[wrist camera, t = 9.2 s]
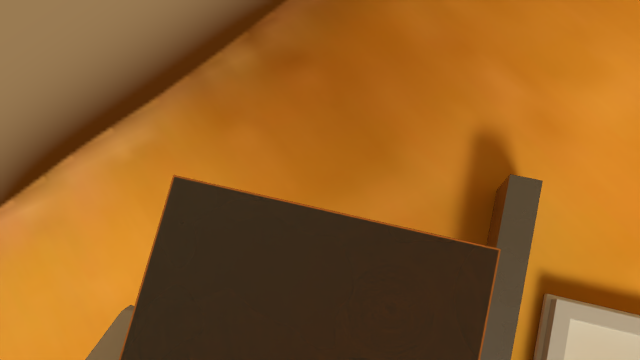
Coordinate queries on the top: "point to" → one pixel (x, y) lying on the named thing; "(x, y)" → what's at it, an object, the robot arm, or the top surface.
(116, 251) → the top surface
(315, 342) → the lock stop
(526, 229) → the door edge rail
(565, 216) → the top surface
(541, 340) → the grey square frame
